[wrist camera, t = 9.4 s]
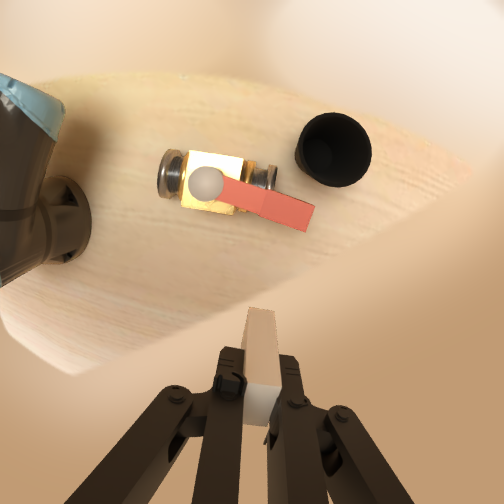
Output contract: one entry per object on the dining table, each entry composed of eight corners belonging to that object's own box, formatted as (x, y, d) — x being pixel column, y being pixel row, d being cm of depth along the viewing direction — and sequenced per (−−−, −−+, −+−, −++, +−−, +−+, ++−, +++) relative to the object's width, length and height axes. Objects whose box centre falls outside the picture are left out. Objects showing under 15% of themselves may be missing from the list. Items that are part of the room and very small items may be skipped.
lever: (188, 194, 29) (183, 195, 28) (198, 162, 28) (193, 161, 27) (301, 232, 30) (304, 236, 28) (313, 201, 29) (316, 203, 27)
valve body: (170, 195, 39) (144, 203, 30) (177, 150, 37) (152, 144, 28) (266, 212, 40) (268, 225, 30) (275, 166, 38) (280, 164, 28)
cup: (346, 175, 38) (379, 178, 26) (296, 188, 39) (310, 195, 27) (331, 124, 36) (359, 106, 24) (280, 136, 37) (288, 121, 25)
